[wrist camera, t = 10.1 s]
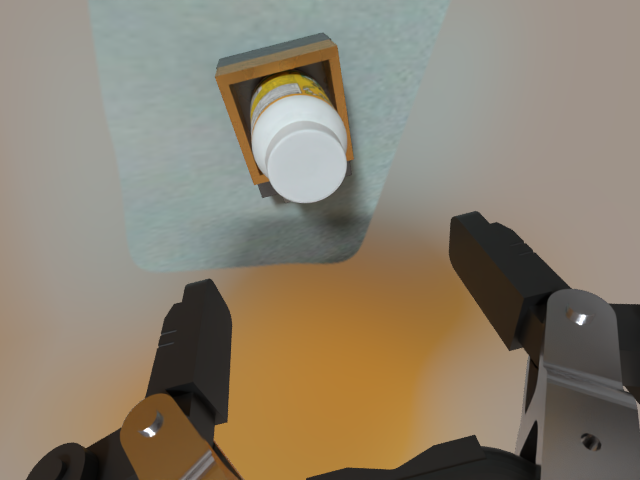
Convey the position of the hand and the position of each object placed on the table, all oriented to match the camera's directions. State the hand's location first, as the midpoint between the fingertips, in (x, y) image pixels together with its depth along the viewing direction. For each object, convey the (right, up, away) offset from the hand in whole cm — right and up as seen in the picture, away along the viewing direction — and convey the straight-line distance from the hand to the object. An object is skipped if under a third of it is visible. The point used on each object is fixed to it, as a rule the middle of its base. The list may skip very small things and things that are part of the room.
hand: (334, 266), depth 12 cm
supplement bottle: (-3, +10, +13) cm, 17 cm away
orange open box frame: (-3, +11, +16) cm, 20 cm away
